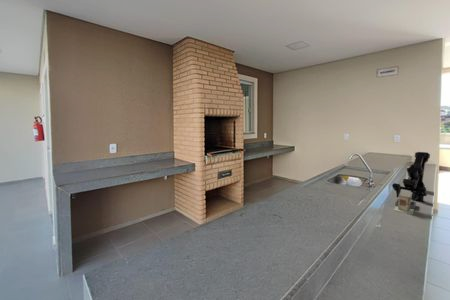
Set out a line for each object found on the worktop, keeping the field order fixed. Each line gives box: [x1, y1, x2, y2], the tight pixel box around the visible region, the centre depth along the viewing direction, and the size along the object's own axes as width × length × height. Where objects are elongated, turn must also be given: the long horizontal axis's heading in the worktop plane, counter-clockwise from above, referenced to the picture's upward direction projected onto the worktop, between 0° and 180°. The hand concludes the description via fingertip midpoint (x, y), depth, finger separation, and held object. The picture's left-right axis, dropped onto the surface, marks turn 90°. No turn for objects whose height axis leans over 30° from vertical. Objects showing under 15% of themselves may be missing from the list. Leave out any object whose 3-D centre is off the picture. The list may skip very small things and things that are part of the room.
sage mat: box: [393, 206, 415, 215], centre depth 153 cm, size 10×10×1 cm
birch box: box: [398, 193, 412, 212], centre depth 152 cm, size 5×5×10 cm
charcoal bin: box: [394, 198, 417, 211], centre depth 161 cm, size 11×11×3 cm
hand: (404, 199), depth 153 cm, fingers open, 9 cm apart
